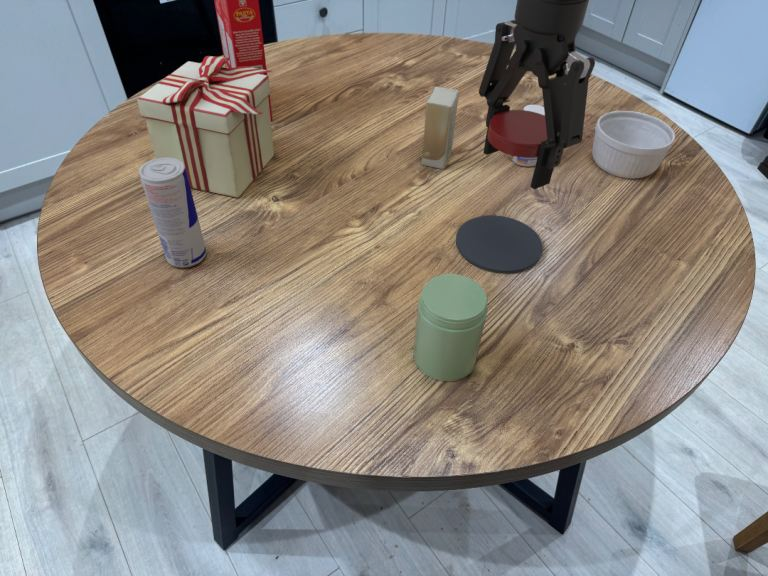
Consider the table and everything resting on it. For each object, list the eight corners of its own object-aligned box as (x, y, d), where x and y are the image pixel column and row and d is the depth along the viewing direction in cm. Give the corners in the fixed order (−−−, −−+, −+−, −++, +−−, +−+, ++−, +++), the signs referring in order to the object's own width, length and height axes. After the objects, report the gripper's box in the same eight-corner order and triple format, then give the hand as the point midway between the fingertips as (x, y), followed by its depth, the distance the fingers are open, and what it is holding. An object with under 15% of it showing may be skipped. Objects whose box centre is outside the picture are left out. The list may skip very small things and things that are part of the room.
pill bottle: (545, 162, 103) (559, 112, 96) (524, 170, 101) (536, 120, 94) (524, 148, 106) (536, 99, 100) (503, 156, 104) (513, 107, 97)
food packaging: (272, 121, 111) (256, -19, 94) (246, 125, 110) (223, -16, 92) (254, 89, 121) (236, -44, 103) (230, 92, 119) (207, -41, 102)
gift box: (263, 203, 92) (248, 103, 80) (156, 187, 94) (126, 87, 82) (295, 149, 104) (286, 55, 92) (200, 136, 106) (180, 43, 94)
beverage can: (212, 261, 82) (190, 172, 71) (173, 274, 79) (144, 185, 69) (200, 239, 85) (177, 151, 74) (162, 251, 83) (133, 162, 72)
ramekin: (665, 188, 98) (681, 153, 93) (587, 177, 100) (598, 142, 95) (656, 149, 108) (670, 115, 103) (585, 140, 109) (595, 106, 104)
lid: (514, 116, 78) (517, 103, 77) (569, 141, 74) (573, 128, 73) (473, 138, 74) (475, 124, 72) (529, 166, 69) (532, 152, 68)
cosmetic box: (429, 148, 106) (435, 84, 97) (452, 152, 105) (460, 89, 96) (420, 166, 101) (425, 101, 93) (443, 170, 100) (451, 105, 92)
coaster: (560, 254, 85) (561, 251, 85) (493, 285, 80) (494, 282, 79) (502, 209, 93) (503, 206, 92) (438, 234, 87) (439, 231, 87)
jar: (489, 364, 70) (504, 304, 62) (437, 391, 67) (447, 332, 59) (450, 323, 74) (460, 263, 67) (401, 347, 71) (405, 287, 64)
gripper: (465, -36, 66) (445, 138, 82) (609, 26, 53) (551, 218, 69) (514, -44, 69) (485, 125, 85) (661, 12, 56) (594, 200, 72)
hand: (515, 167), depth 77 cm, fingers closed on lid, 9 cm apart
